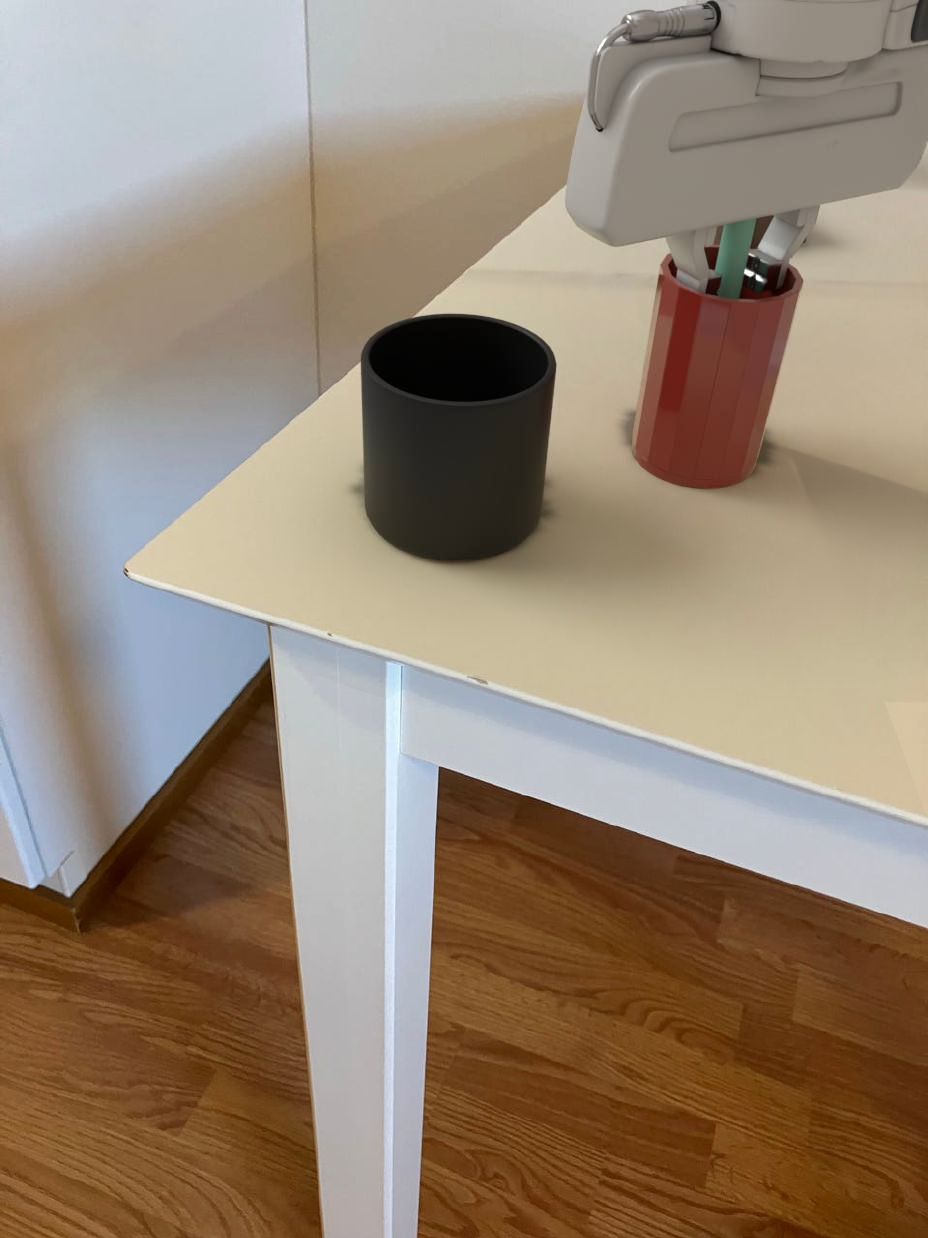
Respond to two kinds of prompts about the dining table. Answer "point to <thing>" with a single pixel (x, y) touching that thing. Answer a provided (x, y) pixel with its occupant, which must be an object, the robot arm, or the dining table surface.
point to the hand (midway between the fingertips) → (727, 295)
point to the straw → (734, 257)
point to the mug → (455, 433)
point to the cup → (710, 378)
